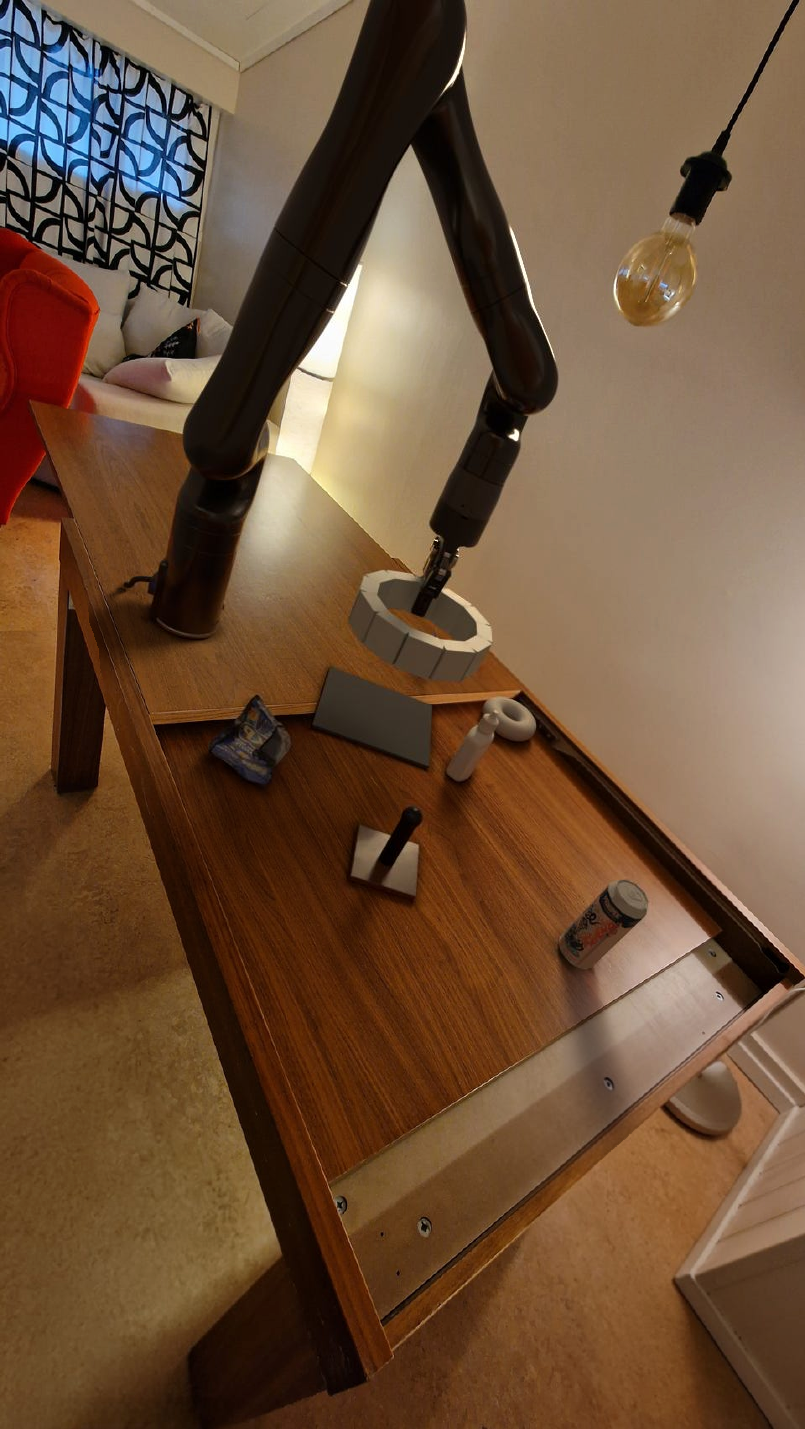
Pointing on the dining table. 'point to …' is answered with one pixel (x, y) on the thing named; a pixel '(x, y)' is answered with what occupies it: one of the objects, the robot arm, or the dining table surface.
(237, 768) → the snack package
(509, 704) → the donut
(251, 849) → the dining table surface
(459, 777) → the eye dropper bottle
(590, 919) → the beer can
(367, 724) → the mat
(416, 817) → the ring post
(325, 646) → the dining table surface
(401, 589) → the ring
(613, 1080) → the dining table surface
